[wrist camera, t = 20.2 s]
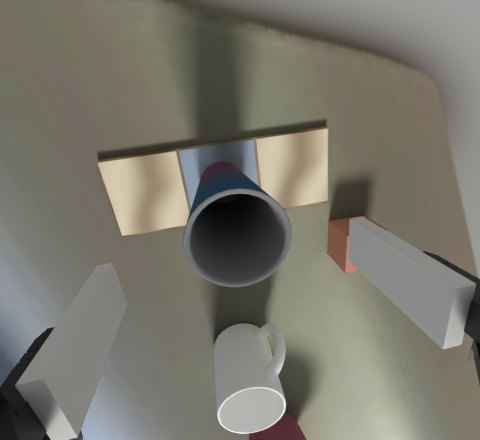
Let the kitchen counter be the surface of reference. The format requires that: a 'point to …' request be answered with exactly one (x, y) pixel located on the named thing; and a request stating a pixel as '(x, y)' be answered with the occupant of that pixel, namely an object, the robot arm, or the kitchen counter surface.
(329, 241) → the die
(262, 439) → the plant pot
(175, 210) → the multicoloured flat piece
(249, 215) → the cup
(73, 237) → the kitchen counter surface
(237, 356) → the mug
